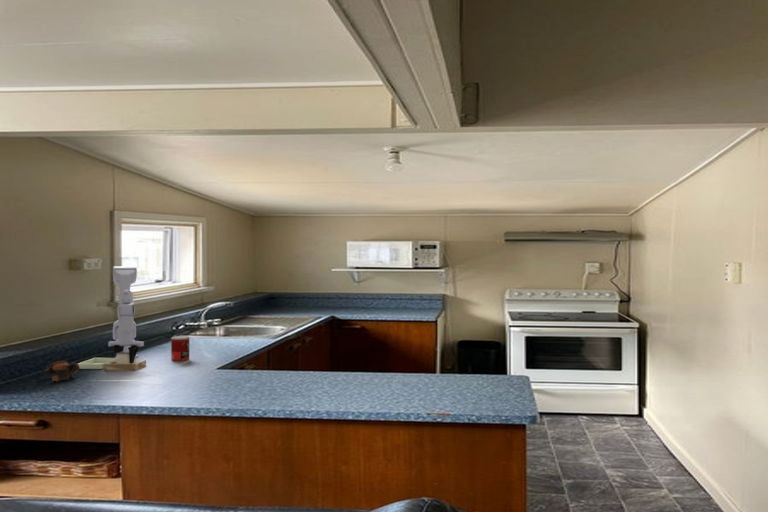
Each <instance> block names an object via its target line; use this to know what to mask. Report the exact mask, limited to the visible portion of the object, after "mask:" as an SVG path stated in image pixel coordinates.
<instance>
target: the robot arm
mask: <svg viewBox="0 0 768 512" xmlns="http://www.w3.org/2000/svg"><path fill="white" fill-rule="evenodd" d="M137 269H138V267H137V266H136V265H133V266H132V265H131V266H130V265H129V266H128V265H127V266H125V265H124V266H116V265H114V266H113V267H112V279H113V284H116V285H117V286H118V287H119V288H118V289H119V292H118V305H117V318H118V319H117V320H116V321H114V322H113V325H112V326H113V327H112V339H113V340H110V341H108V342H107V343H108V345H107V346H108V347H112V351H113V353H114V354H115V358H117V354H116V353H118V352H121V351H124V350H129V355H130V363H134V359H135V360H136V358H137V357H139V355H138V354H137V353H138V351H139V349H140V347H145V342H144V340H143V341H142V340H141V341H140V340H135V338H136V337H137V325H136V324H137V323H136V322H135V321H134V317H135V314H136V313H135V312H136V309H135V307H136V306H135V302H134V294H133V291H131V286H132V285H133V284H135V283H136V281H137V277H138V273H137V272H138V270H137Z"/></svg>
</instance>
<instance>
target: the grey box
mask: <svg viewBox="0 0 768 512" xmlns="http://www.w3.org/2000/svg"><path fill="white" fill-rule="evenodd" d="M116 354H117V364H135V363H136V358H135V359H134V363H130V355H129V350H124V351H121V352H118V353H116ZM116 354H115V355H116Z"/></svg>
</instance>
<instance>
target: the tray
mask: <svg viewBox="0 0 768 512" xmlns="http://www.w3.org/2000/svg"><path fill="white" fill-rule="evenodd" d="M115 360H117V358H116V357H93V358H91V359H87V360H84V361H81V362H79V363H77V364H78V365H79V370H103V369H105V364H107V363H110V362H112V361H115Z"/></svg>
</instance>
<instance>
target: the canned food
mask: <svg viewBox="0 0 768 512" xmlns="http://www.w3.org/2000/svg"><path fill="white" fill-rule="evenodd" d="M170 339H171V343H170V344H171V345H170V346H171V348H170V349H171V350H170V351H171V352H170V354H171V355H170V356H171V357H170V359H171V361H172V362H187V360H188V361H189V360H190V336H189V335H175V336H172V337H171V338H170Z"/></svg>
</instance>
